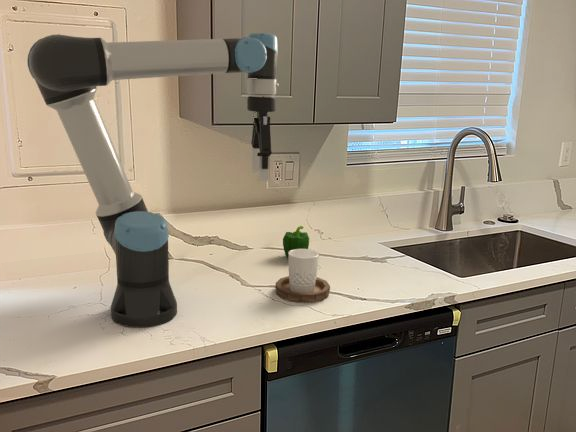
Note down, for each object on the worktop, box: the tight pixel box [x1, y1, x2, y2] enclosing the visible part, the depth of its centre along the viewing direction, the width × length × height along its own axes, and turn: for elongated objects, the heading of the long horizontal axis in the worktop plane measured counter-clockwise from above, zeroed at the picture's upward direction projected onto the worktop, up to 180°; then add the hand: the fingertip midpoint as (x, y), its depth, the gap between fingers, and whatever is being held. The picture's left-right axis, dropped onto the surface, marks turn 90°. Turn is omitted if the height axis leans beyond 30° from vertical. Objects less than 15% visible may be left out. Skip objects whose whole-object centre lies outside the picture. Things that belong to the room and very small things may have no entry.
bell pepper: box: [282, 225, 310, 259], centre depth 175 cm, size 8×8×10 cm
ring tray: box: [275, 275, 331, 304], centre depth 149 cm, size 14×14×2 cm
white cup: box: [287, 248, 320, 293], centre depth 148 cm, size 8×8×10 cm
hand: (260, 176), depth 152 cm, fingers open, 13 cm apart
